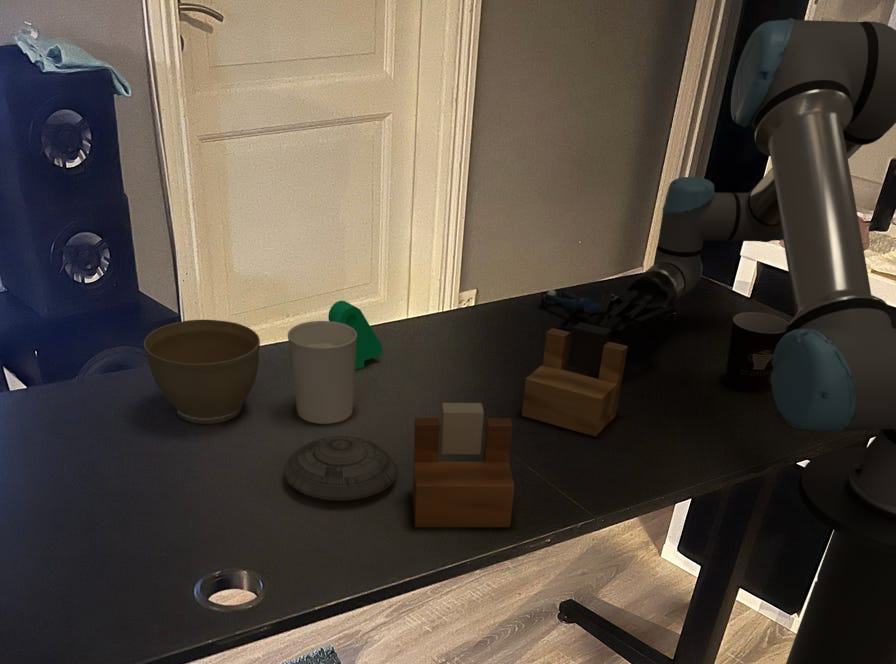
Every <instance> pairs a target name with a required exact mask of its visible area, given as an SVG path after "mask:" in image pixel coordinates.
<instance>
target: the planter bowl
mask: <svg viewBox="0 0 896 664" xmlns="http://www.w3.org/2000/svg"><path fill="white" fill-rule="evenodd" d="M260 339H261V338H260V336H259V335H258V333H257V332H256V331H254V330H253V329H252V328H250V327H248V326H246V325H243V324H241V323H237V322H233V321H229V320H228V321H226V320H218V319H190V320H183V321H177V322H173V323H170V324H165V325H163V326H160V327H158V328H156V329H154V330H152V331H151V332H149V334H148V335H146V337H145V338H144V340H143V349H144V352H145V354H146V357H147V361H148V366H149V370H150V372H151V375H152V378H153V380H154V382H155V384H156V385H157V387H158V389H159V391H160V392H161V394H162V395H163V396H164V398H165V399H166V400H167V401H168V402H169V403H170V404H171V405H172V406H173V407H174V409H175V408H176V409H177V410H178V411H180V412H181V413H183V414H185V415H189V416H190V417H197V418H213V417H221V416H225V415H228V414H231V413H233V412H235V411H237V410H238V409H239V408H240V407H241V408H240V409H239V410H238V411H237V412H236V413H234V414H232V415H230V416H227V417H224V418H219V419H213V420H198V419H191V418H187V417H185V416H182V415H181V414H179V413H178V412H177V411H176V409H175V411H176V414H177V416H179V417H180V419H182V420H184V421H187V422H190V423H194V424H201V425H203V424H205V425H209V424H210V425H213V424H220V423H224V422H226V421H229V420H232V419H234V418H236V417H237V416H238V415H239V414H240V413H241V411H242V408H243V403H244V402H245V400H246V399H247V397H248V396H249V394H250V392H251V390H252V389H253V386H254V385H255V382H256V381H255V380H256V378H257V375H258V369H259V362H260V361H259V359H260V358H259V357H260V355H259V352H260V347H261V340H260ZM241 405H242V406H241Z"/></svg>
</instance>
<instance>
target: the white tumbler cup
mask: <svg viewBox="0 0 896 664" xmlns="http://www.w3.org/2000/svg"><path fill="white" fill-rule="evenodd" d="M287 339H288V346H289V356H290V363H291V373H292V382H293V391H294V399H295V408H296V412H297V415H298V417H300V418H301V419H302V420H304V421H306V422H309V423H312V424H318V425H330V424H336V423H341V422H343V421H346V420H348V419H349V418H350V417H351V416H352V414H353V410H354V400H355V399H354V397H355V396H354V395H355V379H356V377H355V376H356V369H355V359H356V340H357V333H356V331H355V330H354V329H353V328H352V327H350V326H348V325H346V324H343V323H339V322H333V321H329V320H313V321H305V322H302V323H298V324H296V325H294V326H293V327H292V328H290V329H289V330H288V332H287Z"/></svg>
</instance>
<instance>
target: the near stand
mask: <svg viewBox="0 0 896 664" xmlns="http://www.w3.org/2000/svg"><path fill="white" fill-rule="evenodd" d="M413 431H414V432H413V460H412V461H413V462H412V463H413V464H412V470H413V471H412V493H411V494H412V506H413V520H414V527H415V528H511V523H512V516H513V505H514V496H515V488H516V487H515V482H514V478H513V472H512V469H511V464H510V457H511V456H510V455H511V447H512V445H511V444H512V435H513V422H512V418H511V417H509V418H508V417H487V418H486V423H485V434H484V435H485V436H484V446H483V448H484V449H483V461H439V452H440V451H439V450H440V433H441V422H440V418H439V417H414V430H413Z"/></svg>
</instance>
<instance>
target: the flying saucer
mask: <svg viewBox="0 0 896 664" xmlns="http://www.w3.org/2000/svg"><path fill="white" fill-rule="evenodd" d="M397 475H398V467H397V465H396V463H395V460H394V459H393V458H392V457H391V455H389V453H388V452H387V451H386V450H385V449H384V448H382V447H381V446H379V445H377V444H375V443H374V442H371V441H369V440H366V439H362V438H359V437H355V436H346V435H335V436H327V437H322V438H319V439H315V440H313V441H310V442H308V443H306V444H304V445H303V446H301V447H300V448H298V449H297V450H296V451H294V453H293V454H292V455H291V456H290V457H289V458H288V460H287V462H286V463H285V465H284V469H283V476H284V478H285V480H286V482H287V483H288V484H289V485H290V486H291V487H292V488H293V489H295V490H296V491H298V492H300V493H301V494H304V495H306V496H308V497H312V498H316V499H321V500H326V501H338V502H339V501H342V502H343V501H354V500H360V499H365V498H369V497H371V496H374V495H377V494H380V493H381V492H383V491H385V490H386V489H388V488H389V487H390V486H391V485H393V483H394V481H396V479H397V477H398V476H397Z"/></svg>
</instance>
